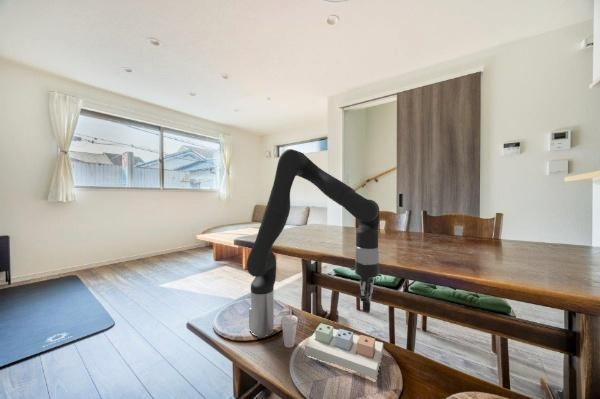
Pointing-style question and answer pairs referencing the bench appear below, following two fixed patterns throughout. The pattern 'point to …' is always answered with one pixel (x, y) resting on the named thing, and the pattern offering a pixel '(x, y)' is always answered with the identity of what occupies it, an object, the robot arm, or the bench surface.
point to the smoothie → (289, 329)
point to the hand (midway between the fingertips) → (366, 311)
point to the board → (345, 355)
